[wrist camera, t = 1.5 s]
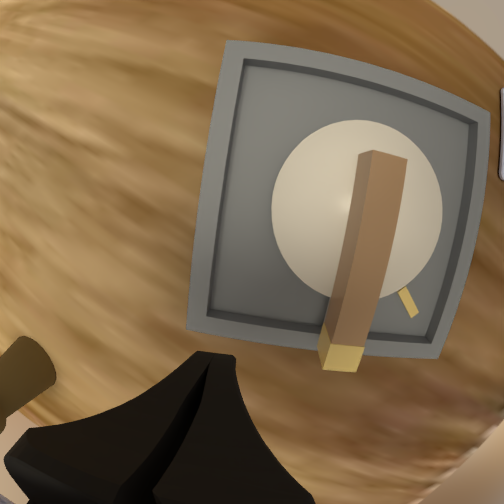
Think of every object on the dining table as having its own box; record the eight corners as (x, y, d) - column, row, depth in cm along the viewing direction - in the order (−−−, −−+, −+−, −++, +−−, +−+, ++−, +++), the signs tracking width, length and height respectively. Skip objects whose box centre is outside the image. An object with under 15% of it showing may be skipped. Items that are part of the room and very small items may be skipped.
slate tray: (473, 117, 16) (490, 112, 14) (426, 344, 20) (437, 358, 18) (231, 53, 17) (226, 40, 15) (194, 315, 21) (186, 329, 19)
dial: (436, 149, 16) (476, 144, 12) (393, 339, 19) (417, 374, 15) (285, 111, 16) (289, 88, 12) (251, 322, 19) (245, 359, 15)
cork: (37, 389, 25) (-18, 446, 14) (8, 343, 24) (-56, 391, 13) (65, 381, 24) (4, 449, 13) (32, 329, 23) (-42, 385, 12)
